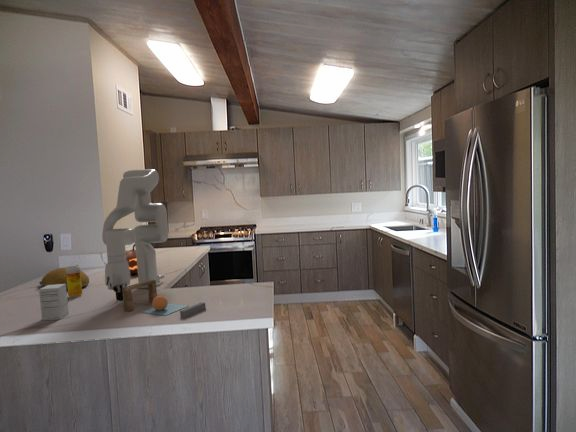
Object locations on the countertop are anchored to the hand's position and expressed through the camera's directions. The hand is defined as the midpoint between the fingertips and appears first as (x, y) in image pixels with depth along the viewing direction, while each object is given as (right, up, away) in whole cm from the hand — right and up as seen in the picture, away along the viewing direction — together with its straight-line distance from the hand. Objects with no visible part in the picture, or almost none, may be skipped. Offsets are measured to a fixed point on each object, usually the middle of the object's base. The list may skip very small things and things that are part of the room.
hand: (120, 300), depth 179 cm
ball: (+22, +2, -14) cm, 26 cm away
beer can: (-29, -2, +19) cm, 35 cm away
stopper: (+37, -1, -20) cm, 42 cm away
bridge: (+11, -1, -6) cm, 13 cm away
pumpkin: (-20, +2, +72) cm, 75 cm away
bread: (-48, -2, +46) cm, 66 cm away
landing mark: (+24, -1, -13) cm, 27 cm away
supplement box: (-20, -4, -15) cm, 25 cm away
